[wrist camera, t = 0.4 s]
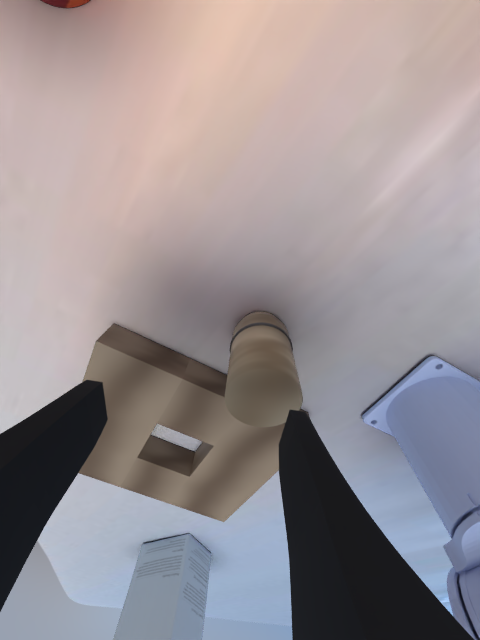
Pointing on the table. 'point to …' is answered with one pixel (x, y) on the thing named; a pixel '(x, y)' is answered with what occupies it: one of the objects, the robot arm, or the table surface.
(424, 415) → the robot arm
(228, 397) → the peg
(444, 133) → the table surface
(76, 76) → the table surface
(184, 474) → the board
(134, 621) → the skincare box
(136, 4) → the table surface
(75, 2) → the coffee cup
